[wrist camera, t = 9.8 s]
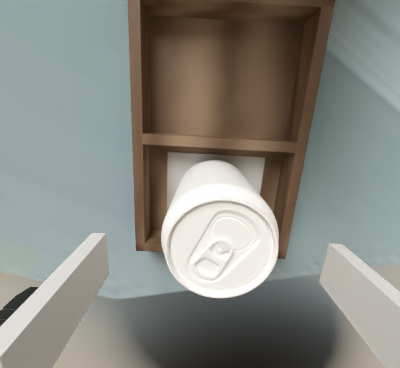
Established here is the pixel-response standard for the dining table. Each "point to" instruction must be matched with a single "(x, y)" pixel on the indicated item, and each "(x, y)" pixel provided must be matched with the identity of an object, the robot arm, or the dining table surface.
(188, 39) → the tray
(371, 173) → the dining table surface
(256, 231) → the beverage can
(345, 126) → the dining table surface
